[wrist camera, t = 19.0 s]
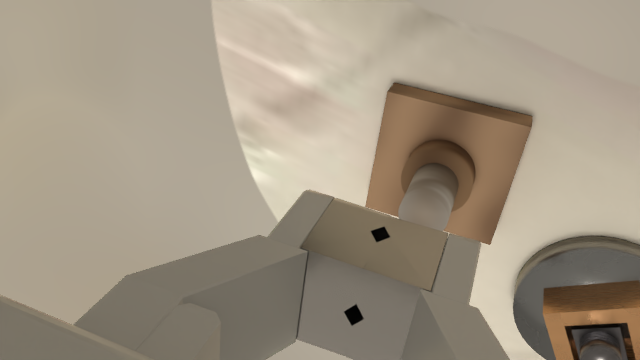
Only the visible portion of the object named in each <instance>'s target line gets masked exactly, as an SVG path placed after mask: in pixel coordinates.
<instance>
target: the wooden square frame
mask: <svg viewBox="0 0 640 360" xmlns="http://www.w3.org/2000/svg"><path fill="white" fill-rule="evenodd" d="M543 316H544V320H545V323H546V327H547V330H548V333H549V337H550V340H551V344H552V347H553V350H554V354H555V357H556V360H580V359H579V356H578V352H577V348H576V345H575V341H574V338H573V334H572V330H571V326H575V325H594V324H613V323H627V324H628V328H629V332H630V337H631V338H625V343H626V350H627V357H628V360H640V283H639V280H634V281H622V282H610V283H598V284H587V285H575V286H563V287H551V288H544V294H543Z"/></svg>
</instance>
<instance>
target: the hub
mask: <svg viewBox="0 0 640 360" xmlns="http://www.w3.org/2000/svg"><path fill="white" fill-rule="evenodd" d="M634 280H639V283H640V245H638V244H635V243H632V242H629V241H626V240H622V239H618V238H612V237H604V236H585V237H576V238H570V239H566V240H563V241H559V242H557V243H554V244H552V245H549V246H547V247H546V248H544V249H542V250H540V251H539V252H538V253H536V254H535V255H534V256H532V257H531V258H530V259H529V260H528V261H527V262H526V264H525V265H524V267H523V268H522V269H521V271H520V273H519V275H518V278H517V281H516V285H515V294H514V304H513V313H514V319H515V323H516V325H517V328H518V330H519V332H520V334H521V335H522V337H523V338H524V340H525V341H526V342H527V343H528V345H529V346H530V347H531V348H532V349H533V350H534V351H536V352H537V353H538V354H539V355H541V356H542V357H543V358H545V359H546V360H556V357H555V354H554V350H553V347H552V344H551V340H550V337H549V333H548V330H547V327H546V323H545V320H544V316H543V294H544V288H551V287H563V286H575V285H587V284H598V283H610V282H622V281H634ZM571 330H572V334H573V338H574V341H575V345H576V348H577V352H578V356H579V359H580V360H628V357H627V350H626V343H625V338H631V337H630V332H629V328H628V324H627V323H613V324H594V325H575V326H571Z"/></svg>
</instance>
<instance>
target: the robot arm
mask: <svg viewBox="0 0 640 360" xmlns="http://www.w3.org/2000/svg"><path fill="white" fill-rule="evenodd" d="M447 237H448V238H447ZM446 240H447V241H446ZM444 247H445V248H444ZM480 247H481V243H480V241H477V240H474V239H470V238H466V237H463V236H459V235H455V234H451V233H450V234H449V236H448V233H446V232H443V231H439V230H436V229H432V228H429V227H425V226H422V225H418V224H415V223H411V222H408V221H404V220H401V219H397V218H394V217H391V216H390V215H387V214H384V213H381V212H378V211H375V210H372V209H369V208H366V207H362V206H359V205H356V204H353V203H350V202H347V201H344V200H341V199H338V198H334V197H332V196H329V195H326V194H322V193H319V192H316V191H312V190H306V191H304V192H303V193H302V194H301V196H300V197H299V198H298V199H297V201H296V202H295V203H294V204H293V206H292V207H291V208H290V209H289V211H288V212H287V213H286V214H285V216H284V217H283V218H282V219H281V221H280V222H279V223H278V224H277V226H276V227H275V228H274V229H273V231H272V232H271V233H270V234H269V236H268V237H264V236H261V235H257V236H255V237H251V238H248V239H245V240H241V241H238V242H234V243H231V244H228V245H225V246H221V247H218V248H215V249H212V250H208V251H205V252H202V253H199V254H195V255H192V256H189V257H185V258H182V259H179V260H176V261H172V262H169V263H166V264H163V265H159V266H156V267H153V268H149V269H146V270H143V271H140V272H136V273H133V274H130V275H126V276H125V277H124V278H123V279H122V280H121V281H120V282H119V283H118V284H117V285H116V286H114V287H113V288H112V289H111V290H110V291H109V292H108V293H107V294H106V295H105V296H104V297H103V298H102V299H100V300H99V302H97V303H96V304H95V305H94V306H93V307H92V308H91V309H90V310H89V311H88V312H87V313H86V314H84V315H83V316H82V317H81V318H80V319H79V320H78V321H77V322H76V323H75V324H74V325H72V324H69V323H67V322H65V321H62V320H60V319H58V318H55V317H53V316H50V315H48V314H46V313H43V312H41V311H38V310H36V309H33V308H31V307H29V306H26V305H24V304H22V303H19V302H17V301H14V300H12V299H10V298H7V297H5V296H2V295H0V360H266V359H267V358H269V357H271V356H272V355H274V354H276V353H277V352H279V351H281V350H283V349H284V348H286V347H288V346H289V345H291V344H293V343H294V342H295V340H296V339H298V340H300V341H303V342H306V343H309V344H312V345H315V346H318V347H320V348H323V349H326V350H329V351H332V352H335V353H338V354H340V355H343V356H346V357H349V358H351V359H353V360H510V359H509V358H508V356H507V354H506V353H505V351H504V349H503V348H502V346H501V345H500V343H499V341H498V340H497V338H496V337H495V335H494V333H493V332H492V330H491V328H490V327H489V325H488V324H487V322H486V320H485V319H484V317H483V315H482V314H481V312H480V311H479V309H478V308H476V307H473V306H470V305H469V302H470V297H471V292H472V287H473V282H474V277H475V272H476V267H477V262H478V257H479V252H480ZM441 257H442V258H441ZM438 267H439V268H438ZM436 274H437V275H436Z"/></svg>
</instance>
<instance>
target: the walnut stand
mask: <svg viewBox="0 0 640 360" xmlns="http://www.w3.org/2000/svg"><path fill="white" fill-rule="evenodd" d="M532 117H533V116H529V115H525V114H521V113H516V112H512V111H508V110H504V109H500V108H496V107H492V106H488V105H484V104H480V103H475V102H471V101H467V100H463V99H459V98H455V97H451V96H447V95H443V94H439V93H434V92H430V91H426V90H422V89H418V88H414V87H410V86H406V85H402V84H397V83H394V84H393V85H392V86H391V88H390V89H389V90H388V92H387V97H386V102H385V107H384V113H383V118H382V123H381V128H380V133H379V139H378V144H377V149H376V154H375V159H374V165H373V170H372V175H371V180H370V186H369V191H368V196H367V201H366V206H365V207H368V208H371V209H374V210H377V211H381V212H384V213H387V214H391V215H394V216H397V217H399V219H401V220H404V221H408V222H411V223H415V224H418V225H422V226H425V227H429V228H432V229H436V230H439V231H446V232H450V233H453V234H456V235H459V236H463V237H466V238H470V239H474V240H477V241H480V242H482V243H486V244H489V245H490V244H491V241H492V238H493V235H494V232H495V230H496V227H497V224H498V221H499V218H500V215H501V212H502V210H503V207H504V204H505V201H506V198H507V195H508V192H509V190H510V187H511V184H512V181H513V178H514V175H515V173H516V170H517V167H518V164H519V161H520V158H521V155H522V153H523V150H524V147H525V144H526V141H527V138H528V135H529V133H530V130H531V126H532Z"/></svg>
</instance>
